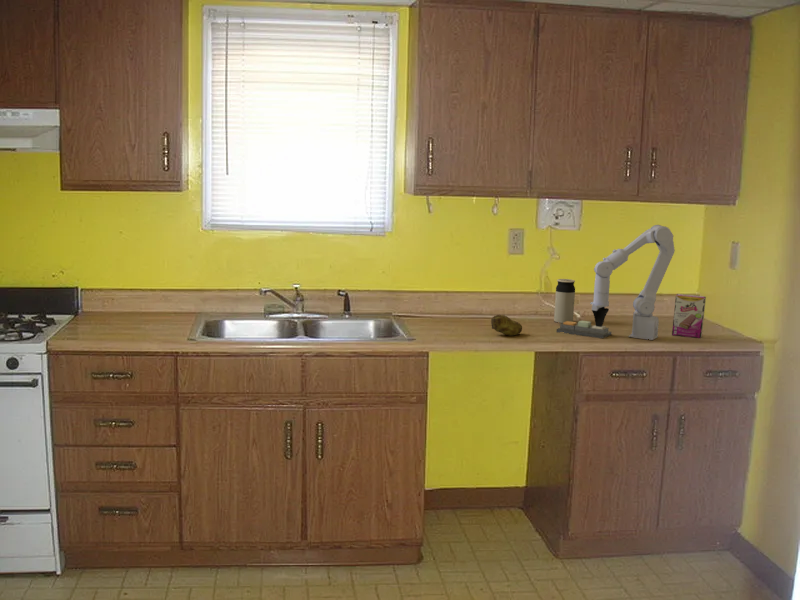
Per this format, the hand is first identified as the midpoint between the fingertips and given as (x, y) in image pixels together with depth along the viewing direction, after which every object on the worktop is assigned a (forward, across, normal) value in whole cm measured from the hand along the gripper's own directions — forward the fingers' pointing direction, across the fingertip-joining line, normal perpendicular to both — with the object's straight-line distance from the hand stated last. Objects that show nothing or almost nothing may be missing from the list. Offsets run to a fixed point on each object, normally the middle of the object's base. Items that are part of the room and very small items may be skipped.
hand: (599, 326), depth 323 cm
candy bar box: (+4, -23, +28) cm, 37 cm away
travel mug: (+4, -18, -22) cm, 28 cm away
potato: (+4, +24, -28) cm, 37 cm away
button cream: (+2, 0, 0) cm, 2 cm away
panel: (+3, 0, -6) cm, 7 cm away
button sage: (+1, 0, -6) cm, 6 cm away
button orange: (+2, 0, -12) cm, 12 cm away
